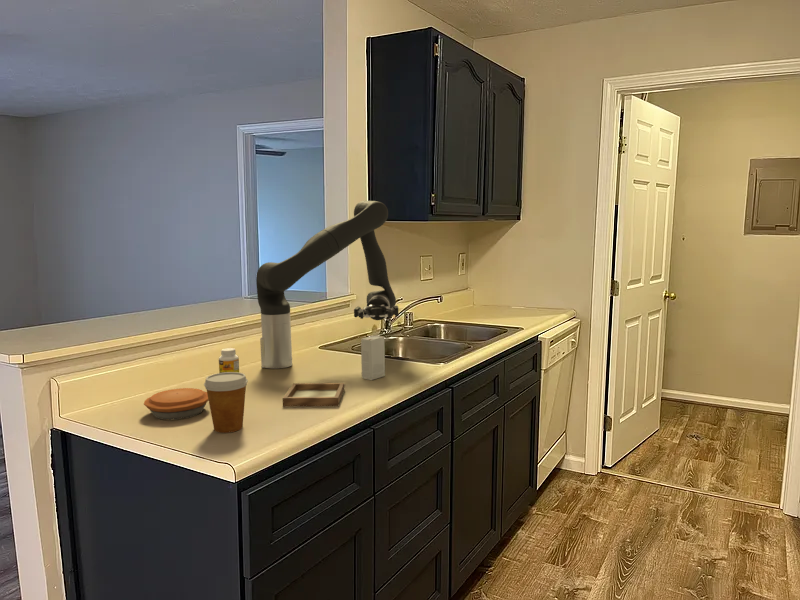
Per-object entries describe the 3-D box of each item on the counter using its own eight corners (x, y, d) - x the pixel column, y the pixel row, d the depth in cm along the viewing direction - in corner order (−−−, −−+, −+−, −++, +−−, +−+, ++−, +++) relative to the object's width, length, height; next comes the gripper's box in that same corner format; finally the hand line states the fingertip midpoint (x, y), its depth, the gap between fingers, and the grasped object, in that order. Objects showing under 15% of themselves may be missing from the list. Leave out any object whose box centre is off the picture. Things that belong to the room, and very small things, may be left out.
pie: (163, 403, 161) (162, 384, 161) (221, 403, 160) (220, 385, 159) (132, 422, 146) (130, 402, 145) (195, 423, 145) (194, 403, 144)
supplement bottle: (215, 385, 177) (213, 350, 176) (228, 380, 182) (226, 346, 181) (231, 387, 175) (229, 351, 174) (243, 382, 180) (242, 348, 179)
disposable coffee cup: (258, 423, 144) (255, 373, 142) (234, 437, 135) (231, 383, 133) (223, 419, 147) (220, 370, 145) (197, 433, 138) (194, 380, 136)
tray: (282, 406, 156) (282, 398, 156) (293, 391, 170) (293, 383, 170) (338, 406, 156) (337, 397, 156) (344, 390, 170) (344, 382, 169)
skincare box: (374, 374, 187) (374, 334, 186) (385, 376, 184) (385, 336, 183) (360, 378, 183) (359, 338, 181) (371, 380, 180) (371, 339, 178)
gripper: (356, 296, 208) (351, 303, 192) (399, 295, 208) (397, 302, 192) (357, 318, 209) (352, 327, 193) (399, 317, 209) (398, 326, 193)
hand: (375, 315), depth 192 cm, fingers open, 8 cm apart
